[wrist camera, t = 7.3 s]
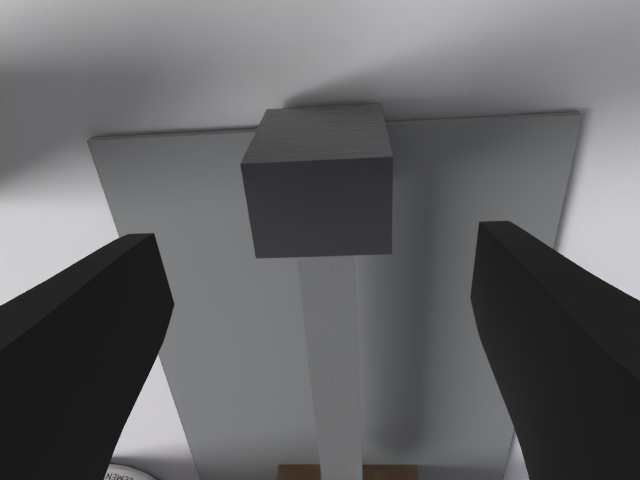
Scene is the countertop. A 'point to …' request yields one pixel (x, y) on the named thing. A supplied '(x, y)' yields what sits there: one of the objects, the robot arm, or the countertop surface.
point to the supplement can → (125, 473)
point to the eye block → (374, 476)
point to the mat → (371, 293)
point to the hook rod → (324, 244)
